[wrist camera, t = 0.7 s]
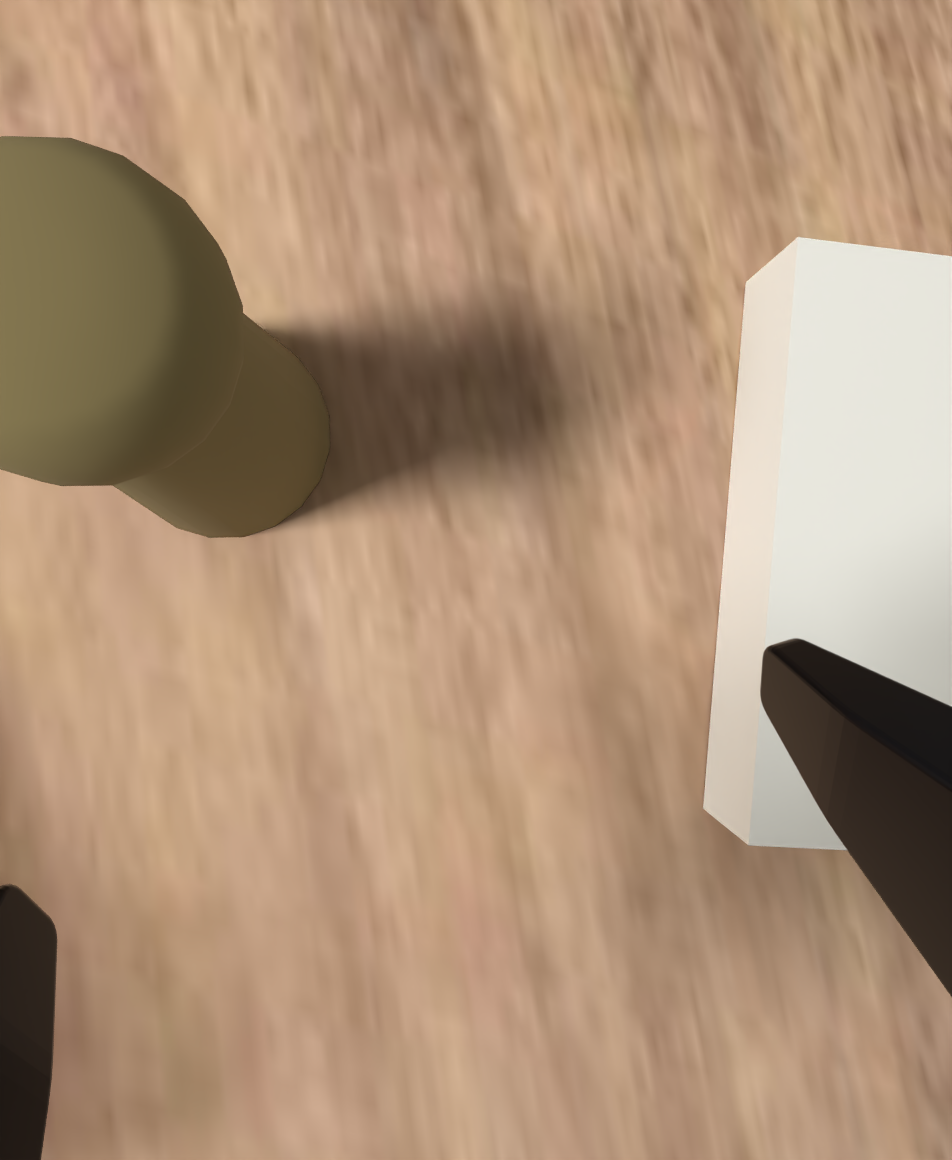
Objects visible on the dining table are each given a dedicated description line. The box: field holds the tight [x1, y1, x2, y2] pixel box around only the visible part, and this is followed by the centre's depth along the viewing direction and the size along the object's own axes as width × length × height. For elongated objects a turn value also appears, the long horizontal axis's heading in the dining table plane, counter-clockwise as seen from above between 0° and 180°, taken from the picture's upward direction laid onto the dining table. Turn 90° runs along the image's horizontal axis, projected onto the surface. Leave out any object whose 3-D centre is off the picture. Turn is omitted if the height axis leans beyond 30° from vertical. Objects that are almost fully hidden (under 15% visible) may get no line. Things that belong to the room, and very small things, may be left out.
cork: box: [0, 136, 330, 538], centre depth 15 cm, size 6×6×11 cm
